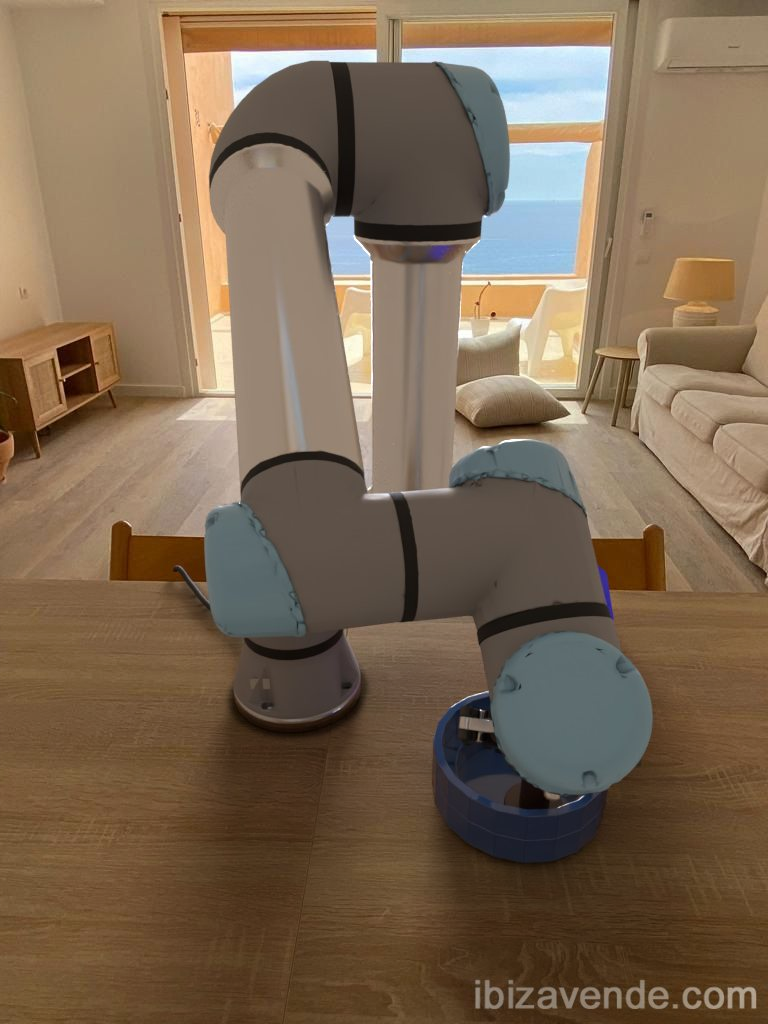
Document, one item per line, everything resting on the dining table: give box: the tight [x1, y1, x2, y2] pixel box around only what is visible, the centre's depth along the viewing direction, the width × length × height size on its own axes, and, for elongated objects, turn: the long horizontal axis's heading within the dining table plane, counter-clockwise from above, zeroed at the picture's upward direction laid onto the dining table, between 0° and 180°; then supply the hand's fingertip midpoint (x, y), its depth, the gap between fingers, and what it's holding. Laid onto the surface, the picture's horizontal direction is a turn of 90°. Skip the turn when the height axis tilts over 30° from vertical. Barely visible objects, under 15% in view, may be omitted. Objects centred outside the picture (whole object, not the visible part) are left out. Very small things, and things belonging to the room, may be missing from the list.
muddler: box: [504, 778, 563, 810], centre depth 63 cm, size 6×6×15 cm
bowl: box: [431, 690, 609, 864], centre depth 68 cm, size 17×17×6 cm
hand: (538, 744), depth 68 cm, fingers open, 6 cm apart
